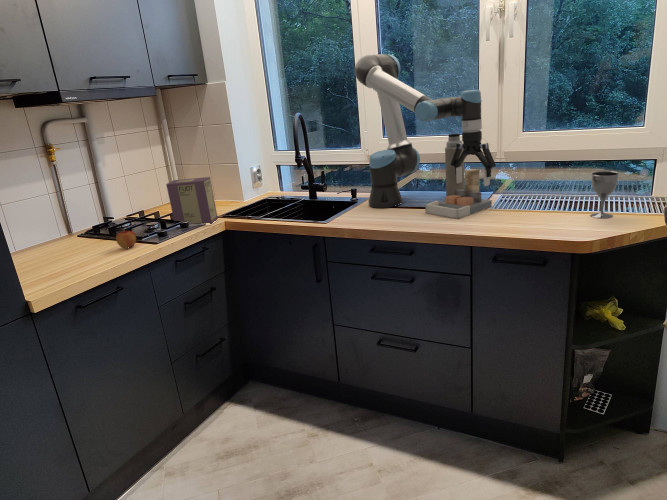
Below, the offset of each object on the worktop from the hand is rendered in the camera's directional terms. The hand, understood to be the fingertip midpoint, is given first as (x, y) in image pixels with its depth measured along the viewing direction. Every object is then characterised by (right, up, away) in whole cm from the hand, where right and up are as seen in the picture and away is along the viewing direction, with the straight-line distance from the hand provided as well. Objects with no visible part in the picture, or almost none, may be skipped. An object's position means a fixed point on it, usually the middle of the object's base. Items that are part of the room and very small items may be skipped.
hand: (472, 184), depth 193 cm
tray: (-12, -13, -5) cm, 18 cm away
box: (-119, -15, +21) cm, 122 cm away
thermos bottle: (-2, -4, +19) cm, 19 cm away
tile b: (-4, -9, -5) cm, 11 cm away
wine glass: (+37, -15, -28) cm, 49 cm away
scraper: (0, -6, +2) cm, 6 cm away
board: (-3, -10, 0) cm, 10 cm away
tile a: (-8, -8, 0) cm, 11 cm away
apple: (-139, -26, -5) cm, 141 cm away
